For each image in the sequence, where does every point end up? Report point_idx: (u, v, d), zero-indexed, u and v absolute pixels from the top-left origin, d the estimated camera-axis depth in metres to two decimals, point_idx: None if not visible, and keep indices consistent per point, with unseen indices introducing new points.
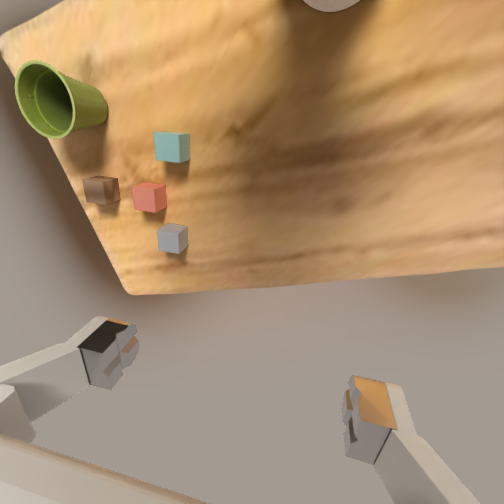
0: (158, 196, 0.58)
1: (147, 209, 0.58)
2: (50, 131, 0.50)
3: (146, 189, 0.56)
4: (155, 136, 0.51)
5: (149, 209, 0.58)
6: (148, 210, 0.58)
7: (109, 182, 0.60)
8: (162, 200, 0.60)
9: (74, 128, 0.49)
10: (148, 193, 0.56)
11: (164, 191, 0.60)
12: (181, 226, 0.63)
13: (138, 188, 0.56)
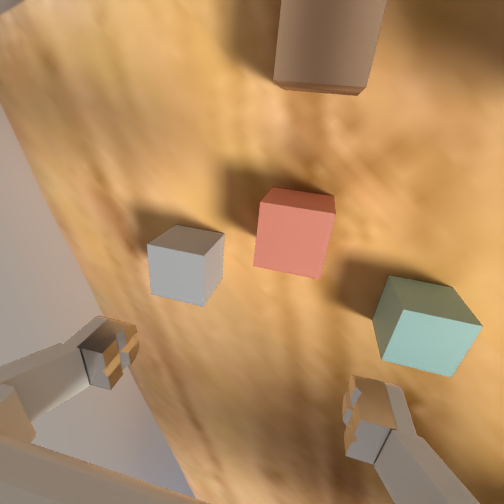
0: None
1: (261, 244, 0.20)
2: None
3: (322, 258, 0.19)
4: (469, 327, 0.18)
5: (262, 250, 0.20)
6: (259, 246, 0.20)
7: (354, 90, 0.16)
8: None
9: None
10: (310, 260, 0.19)
11: None
12: (220, 271, 0.27)
13: (327, 234, 0.18)
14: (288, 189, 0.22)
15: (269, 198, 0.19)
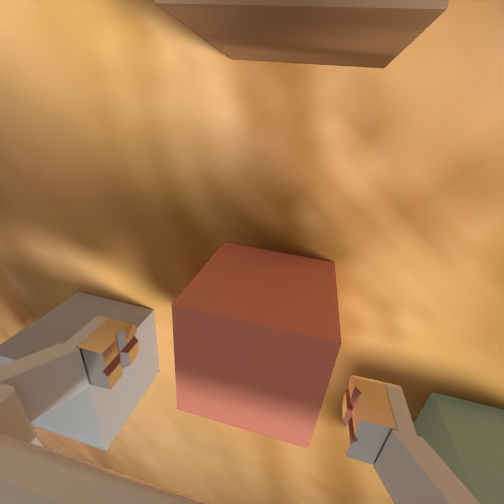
0: None
1: (187, 378, 0.09)
2: None
3: (311, 415, 0.09)
4: None
5: (189, 387, 0.10)
6: (183, 381, 0.10)
7: (389, 43, 0.06)
8: None
9: None
10: (287, 417, 0.09)
11: None
12: (151, 366, 0.16)
13: (321, 378, 0.08)
14: (251, 247, 0.12)
15: (200, 285, 0.09)
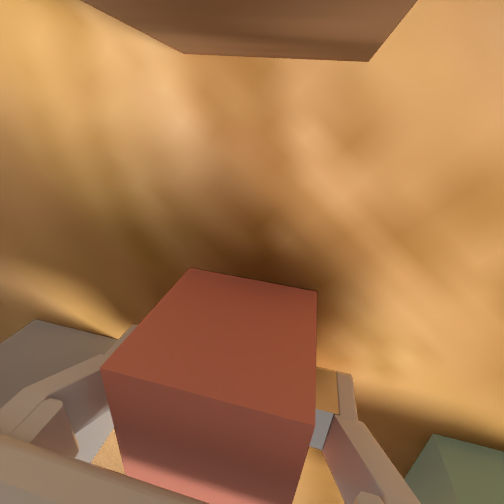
0: None
1: (133, 449, 0.08)
2: None
3: (284, 499, 0.07)
4: None
5: (137, 459, 0.08)
6: (128, 451, 0.08)
7: (369, 26, 0.04)
8: None
9: None
10: (256, 498, 0.07)
11: None
12: None
13: (293, 462, 0.06)
14: (220, 275, 0.10)
15: (144, 336, 0.07)
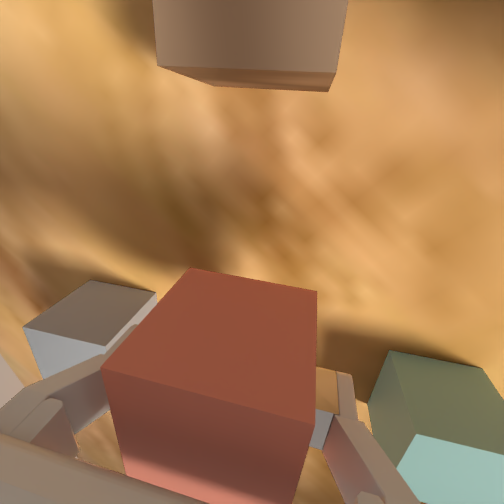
0: None
1: (133, 449, 0.08)
2: None
3: (284, 498, 0.07)
4: None
5: (137, 458, 0.08)
6: (128, 450, 0.08)
7: (318, 82, 0.09)
8: None
9: None
10: (256, 498, 0.07)
11: None
12: None
13: (294, 461, 0.06)
14: (220, 275, 0.10)
15: (145, 335, 0.07)
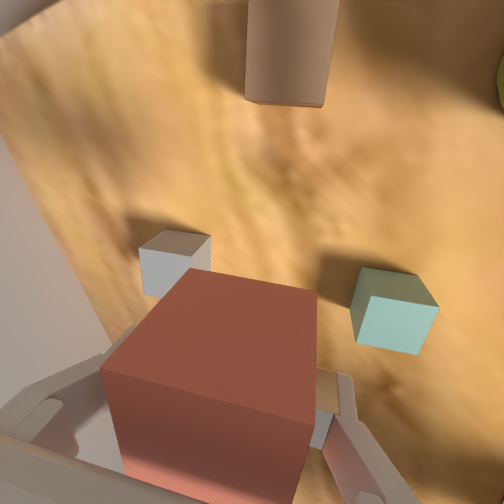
0: None
1: (133, 449, 0.08)
2: None
3: (284, 499, 0.07)
4: (428, 308, 0.21)
5: (137, 458, 0.08)
6: (128, 451, 0.08)
7: (316, 105, 0.18)
8: None
9: None
10: (256, 498, 0.07)
11: None
12: None
13: (293, 461, 0.06)
14: (220, 275, 0.10)
15: (144, 336, 0.07)
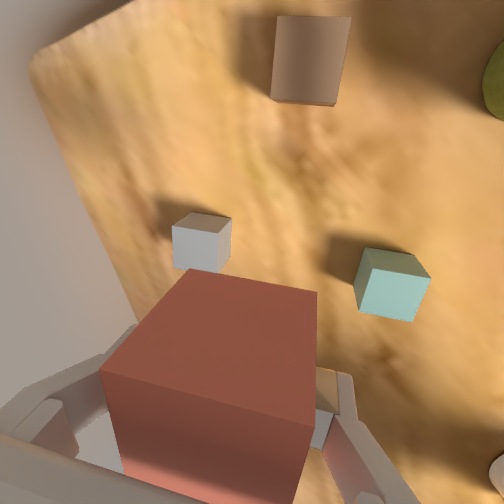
0: None
1: (132, 450, 0.08)
2: None
3: (284, 500, 0.07)
4: (421, 279, 0.24)
5: (136, 460, 0.08)
6: (127, 452, 0.08)
7: (329, 104, 0.22)
8: None
9: None
10: (256, 500, 0.07)
11: None
12: (228, 250, 0.32)
13: (293, 463, 0.06)
14: (220, 276, 0.10)
15: (144, 337, 0.07)
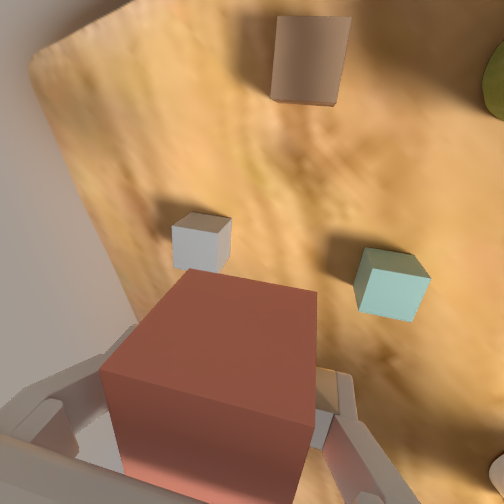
0: None
1: (132, 451, 0.08)
2: None
3: (284, 500, 0.07)
4: (421, 279, 0.24)
5: (136, 460, 0.08)
6: (127, 452, 0.08)
7: (329, 104, 0.22)
8: None
9: None
10: (256, 500, 0.07)
11: None
12: (228, 250, 0.32)
13: (293, 463, 0.06)
14: (219, 276, 0.10)
15: (144, 337, 0.07)
